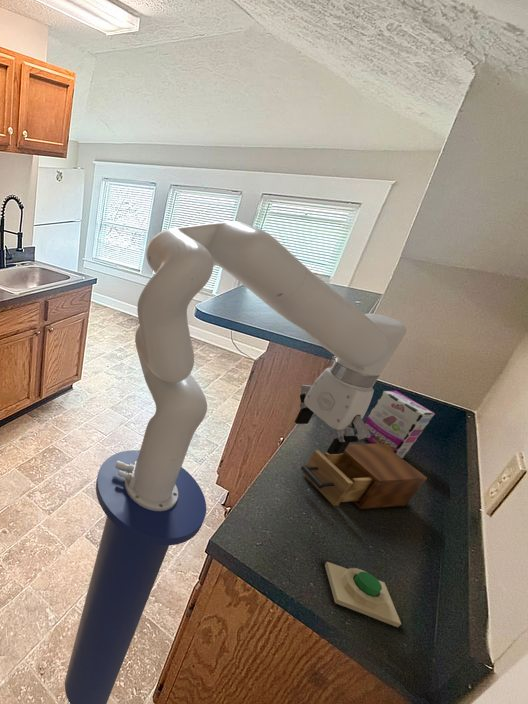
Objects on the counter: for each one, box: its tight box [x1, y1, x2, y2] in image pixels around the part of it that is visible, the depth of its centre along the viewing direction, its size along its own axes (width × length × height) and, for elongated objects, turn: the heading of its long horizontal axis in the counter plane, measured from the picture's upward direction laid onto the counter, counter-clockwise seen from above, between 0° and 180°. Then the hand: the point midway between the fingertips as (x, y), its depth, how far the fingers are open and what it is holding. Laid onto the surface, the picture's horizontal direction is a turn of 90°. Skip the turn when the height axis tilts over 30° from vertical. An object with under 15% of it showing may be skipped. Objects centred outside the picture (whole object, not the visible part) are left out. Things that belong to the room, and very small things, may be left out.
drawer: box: [300, 449, 375, 507], centre depth 94 cm, size 17×10×8 cm, turn 99°
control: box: [324, 561, 402, 628], centre depth 72 cm, size 10×8×3 cm
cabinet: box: [343, 443, 428, 510], centre depth 95 cm, size 14×12×10 cm
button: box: [354, 571, 382, 596], centre depth 71 cm, size 4×4×2 cm
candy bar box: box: [363, 390, 436, 459], centre depth 110 cm, size 11×5×16 cm, turn 12°
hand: (316, 437), depth 85 cm, fingers open, 9 cm apart
